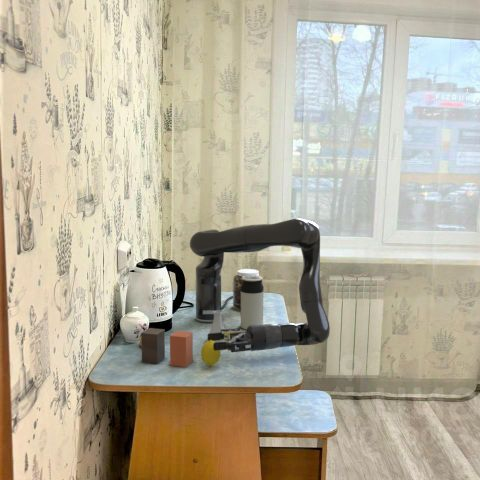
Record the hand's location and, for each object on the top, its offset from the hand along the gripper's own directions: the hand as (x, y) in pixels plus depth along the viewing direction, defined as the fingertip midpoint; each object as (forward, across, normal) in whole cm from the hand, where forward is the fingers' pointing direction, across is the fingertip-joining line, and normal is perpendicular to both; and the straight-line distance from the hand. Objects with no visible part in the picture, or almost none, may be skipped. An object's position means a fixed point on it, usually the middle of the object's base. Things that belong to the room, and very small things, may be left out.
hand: (210, 341), depth 172 cm
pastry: (+14, -22, +8) cm, 28 cm away
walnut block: (+15, -10, +8) cm, 20 cm away
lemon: (0, 0, +8) cm, 8 cm away
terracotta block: (+8, -5, +8) cm, 12 cm away
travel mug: (-22, -34, +8) cm, 41 cm away
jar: (-26, -58, +8) cm, 64 cm away
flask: (-7, -22, +8) cm, 24 cm away
